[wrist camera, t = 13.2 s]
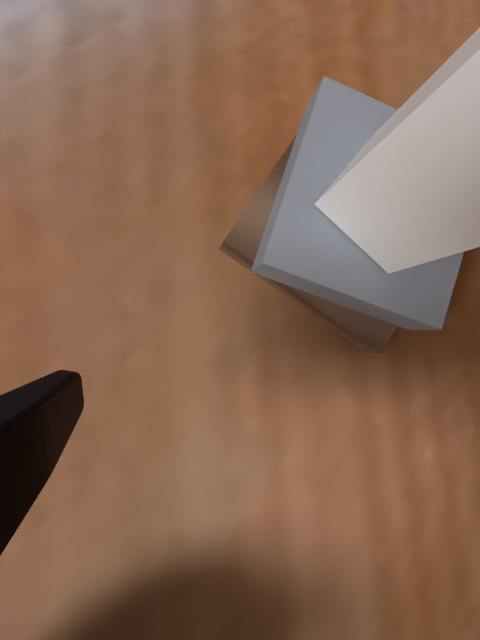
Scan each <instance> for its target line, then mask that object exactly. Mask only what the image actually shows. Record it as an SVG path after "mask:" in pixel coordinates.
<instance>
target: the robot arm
mask: <svg viewBox="0 0 480 640" xmlns="http://www.w3.org/2000/svg"><path fill="white" fill-rule="evenodd" d="M83 407H84V398H83V388H82V379H81V376H80V374H79V373H77V372H73V371H67V370H58V371H56V372H54V373H51V374H49V375H47V376H44V377H42V378H40V379H37V380H35V381H33V382H30V383H28V384H26V385H23V386H21V387H19V388H16V389H14V390H12V391H9V392H7V393H5V394H2V395H0V555H1V554H2V552H3V551H4V549H5V547H6V546H7V544H8V543H9V541H10V540H11V538H12V536H13V535H14V533H15V532H16V530H17V528H18V527H19V525H20V524H21V522H22V520H23V519H24V517H25V516H26V514H27V513H28V511H29V509H30V508H31V506H32V505H33V503H34V501H35V500H36V498H37V497H38V495H39V493H40V492H41V490H42V489H43V487H44V486H45V484H46V482H47V481H48V479H49V477H50V475H51V474H52V472H53V470H54V468H55V466H56V464H57V462H58V460H59V458H60V456H61V454H62V452H63V450H64V448H65V446H66V444H67V442H68V440H69V438H70V436H71V434H72V432H73V430H74V427H75V425H76V423H77V421H78V419H79V417H80V415H81V413H82V410H83Z"/></svg>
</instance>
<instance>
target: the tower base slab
mask: <svg viewBox="0 0 480 640" xmlns="http://www.w3.org/2000/svg"><path fill="white" fill-rule="evenodd" d="M296 136H297V135H296ZM295 139H296V137H295V138H294V140H293V141H292V143H291V144H290V145H289V147H288V148H287V150H286V151H285V153H284V154H283V156H282V157H281V158H280V160H279V161H278V163H277V164H276V166H275V167H274V169H273V170H272V172H271V173H270V174H269V176H268V177H267V179H266V180H265V182H264V183H263V185H262V186H261V188H260V189H259V190H258V192H257V193H256V195H255V196H254V198H253V199H252V201H251V202H250V204H249V205H248V206H247V208H246V209H245V211H244V212H243V214H242V215H241V217H240V218H239V220H238V221H237V222H236V224H235V225H234V227H233V228H232V230H231V231H230V233H229V234H228V236H227V237H226V238H225V240H224V242H223V243H222V245H221V247H220V250H221V251H222V252H224V253H225V254H227V255H228V256H230V257H231V258H232V259H234V260H235V261H237V262H238V263H240V264H241V265H242V266H244V267H245V268H247V269H248V270H249V271H251V270H252V267H253V264H254V261H255V258H256V255H257V252H258V249H259V246H260V243H261V240H262V237H263V234H264V231H265V228H266V225H267V222H268V219H269V216H270V213H271V210H272V207H273V204H274V201H275V198H276V195H277V192H278V189H279V186H280V183H281V180H282V177H283V174H284V171H285V168H286V165H287V162H288V159H289V156H290V153H291V150H292V147H293V144H294V142H295ZM252 273H253V272H252ZM254 274H255V273H254ZM255 275H257V276H258V277H259V278H261V279H262V280H264V281H265V282H267V283H268V284H269V285H271V286H272V287H274V288H275V289H276V290H278V291H279V292H281V293H282V294H284V295H285V296H286V297H288V298H289V299H291V300H292V301H294V302H295V303H296V304H298V305H299V306H301V307H302V308H303V309H305V310H306V311H308V312H309V313H311V314H312V315H313V316H315V317H316V318H318V319H319V320H321V321H322V322H323V323H325V324H326V325H328V326H329V327H330V328H332V329H333V330H335V331H336V332H338V333H339V334H340V335H342V336H343V337H345V338H346V339H348V340H349V341H350V342H352V343H353V344H355V345H356V346H358V347H359V348H360V349H362V350H363V351H367V352H377V353H383V351H384V349H385V348H386V346H387V344H388V343H389V341H390V339H391V338H392V336H393V334H394V333H395V331H396V329H397V328H398V326H396V325H394V324H391V323H388V322H385V321H383V320H380V319H377V318H375V317H372V316H369V315H366V314H364V313H361V312H358V311H356V310H353V309H350V308H348V307H345V306H342V305H339V304H337V303H334V302H331V301H329V300H326V299H323V298H320V297H318V296H315V295H312V294H310V293H307V292H304V291H301V290H299V289H296V288H293V287H291V286H288V285H285V284H282V283H280V282H277V281H274V280H272V279H269V278H266V277H263V276H261V275H258V274H255Z"/></svg>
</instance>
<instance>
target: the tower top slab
mask: <svg viewBox="0 0 480 640" xmlns="http://www.w3.org/2000/svg"><path fill="white" fill-rule="evenodd" d="M396 111H397V109H395V108H393V107H390V106H388V105H386V104H384V103H382V102H380V101H378V100H375V99H373V98H371V97H369V96H367V95H365V94H362V93H360V92H358V91H356V90H354V89H352V88H349V87H347V86H345V85H343V84H341V83H339V82H336V81H334V80H332V79H330V78H328V77H326V76H324V77H323V79H322V81H321V82H320V84H319V86H318V88H317V89H316V91H315V93H314V95H313V96H312V98H311V100H310V102H309V103H308V105H307V107H306V109H305V112H304V115H303V118H302V121H301V124H300V127H299V130H298V133H297V136H296V139H295V142H294V144H293V147H292V150H291V153H290V156H289V159H288V162H287V165H286V168H285V171H284V174H283V177H282V180H281V183H280V186H279V189H278V192H277V195H276V198H275V201H274V204H273V207H272V210H271V213H270V216H269V219H268V222H267V225H266V228H265V231H264V234H263V237H262V240H261V243H260V246H259V249H258V252H257V255H256V258H255V261H254V264H253V267H252V270H251V272H253V273H255V274H258V275H261V276H263V277H266V278H269V279H272V280H274V281H277V282H280V283H282V284H285V285H288V286H291V287H293V288H296V289H299V290H301V291H304V292H307V293H310V294H312V295H315V296H318V297H320V298H323V299H326V300H329V301H331V302H334V303H337V304H339V305H342V306H345V307H348V308H350V309H353V310H356V311H358V312H361V313H364V314H366V315H369V316H372V317H375V318H377V319H380V320H383V321H385V322H388V323H391V324H394V325H396V326H399V327H402V328H404V329H407V330H442V327H443V324H444V320H445V317H446V313H447V310H448V306H449V303H450V299H451V296H452V292H453V289H454V285H455V282H456V278H457V275H458V271H459V268H460V264H461V261H462V257H463V254H464V252H461V253H457V254H454V255H450V256H447V257H444V258H440V259H437V260H434V261H430V262H427V263H424V264H420V265H417V266H413V267H410V268H407V269H403V270H400V271H397V272H393V273H390V274H388V273H387V272H386V271H385V270H384V269H383V268H382V267H381V266H380V265H379V264H377V263H376V262H375V261H374V260H373V259H372V258H371V257H370V256H369V255H368V254H367V253H366V252H365V251H364V250H363V249H361V248H360V247H359V246H358V245H357V244H356V243H355V242H354V241H353V240H352V239H351V238H350V237H349V236H348V235H347V234H345V233H344V232H343V231H342V230H341V229H340V228H339V227H338V226H337V225H336V224H335V223H334V222H333V221H332V220H331V219H329V218H328V217H327V216H326V215H325V214H324V213H323V212H322V211H321V210H320V209H319V208H318V207H317V206H316V205H314V204H315V203H316V201H317V200H318V199H319V198H320V197H321V196H322V194H323V193H324V192H325V191H326V190H327V189H328V187H329V186H330V185H331V184H332V183H333V181H334V180H335V179H336V178H337V177H338V176H339V174H340V173H341V172H342V171H343V170H344V169H345V167H346V166H347V165H348V164H349V163H350V162H351V160H352V159H353V158H354V157H355V156H356V155H357V153H358V152H359V151H360V150H361V149H362V147H363V146H364V145H365V144H366V143H367V142H368V140H369V139H370V138H371V137H372V136H373V135H374V133H375V132H376V131H377V130H378V129H379V128H380V127H381V126H382V125H383V124H384V123H385V122H386V121H387V120H388V119H389V118H390V117H391V116H392V115H393V114H394V113H395V112H396Z"/></svg>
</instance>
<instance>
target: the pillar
mask: <svg viewBox="0 0 480 640" xmlns="http://www.w3.org/2000/svg"><path fill="white" fill-rule="evenodd" d="M314 205H316V206H317V207H318V208H319V209H320V210H321V211H322V212H323V213H324V214H325V215H326V216H327V217H328V218H329V219H331V220H332V221H333V222H334V223H335V224H336V225H337V226H338V227H339V228H340V229H341V230H342V231H343V232H344V233H345V234H347V235H348V236H349V237H350V238H351V239H352V240H353V241H354V242H355V243H356V244H357V245H358V246H359V247H360V248H361V249H363V250H364V251H365V252H366V253H367V254H368V255H369V256H370V257H371V258H372V259H373V260H374V261H375V262H376V263H377V264H379V265H380V266H381V267H382V268H383V269H384V270H385V271H386V272H387V273H388V274H390V273H393V272H397V271H400V270H403V269H407V268H410V267H413V266H417V265H420V264H424V263H427V262H430V261H434V260H437V259H440V258H444V257H447V256H450V255H454V254H457V253H461V252H464V251H467V250H471V249H474V248H477V247H480V28H479V29H478V30H477V31H476V32H475V33H474V34H473V35H472V36H471V37H470V38H469V39H468V40H467V41H466V42H465V43H464V44H463V45H462V46H461V47H460V48H459V49H458V50H457V51H456V52H455V53H454V54H453V55H452V56H451V57H450V58H449V59H448V60H447V61H446V62H445V63H444V64H443V65H442V66H441V67H440V68H439V69H438V70H437V71H436V72H435V73H434V74H433V75H432V76H431V77H430V78H429V79H428V80H427V81H426V82H425V83H424V84H423V85H422V86H421V87H420V88H419V89H418V90H417V91H416V92H415V93H414V94H413V95H412V96H411V97H410V98H409V99H408V100H407V101H406V102H405V103H404V104H403V105H402V106H401V107H400V108H399V109H398V110H397V111H396V112H395V113H394V114H393V115H392V116H391V117H390V118H389V119H388V120H387V121H386V122H385V123H384V124H383V125H382V126H381V127H380V128H379V129H378V130H377V131H376V132H375V133H374V135H373V136H372V137H371V138H370V139H369V140H368V142H367V143H366V144H365V145H364V146H363V147H362V149H361V150H360V151H359V152H358V153H357V155H356V156H355V157H354V158H353V159H352V160H351V162H350V163H349V164H348V165H347V166H346V167H345V169H344V170H343V171H342V172H341V173H340V174H339V176H338V177H337V178H336V179H335V180H334V181H333V183H332V184H331V185H330V186H329V187H328V189H327V190H326V191H325V192H324V193H323V194H322V196H321V197H320V198H319V199H318V200H317V201H316V203H315V204H314Z"/></svg>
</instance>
